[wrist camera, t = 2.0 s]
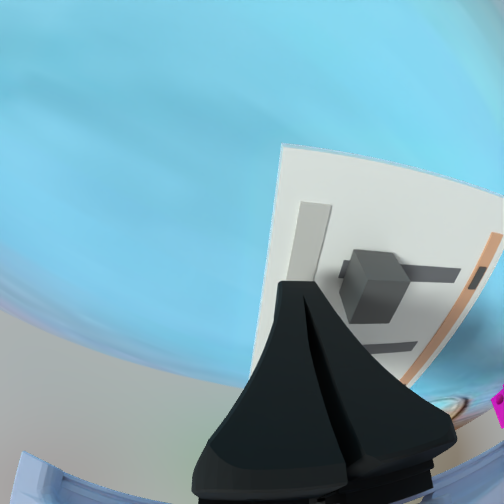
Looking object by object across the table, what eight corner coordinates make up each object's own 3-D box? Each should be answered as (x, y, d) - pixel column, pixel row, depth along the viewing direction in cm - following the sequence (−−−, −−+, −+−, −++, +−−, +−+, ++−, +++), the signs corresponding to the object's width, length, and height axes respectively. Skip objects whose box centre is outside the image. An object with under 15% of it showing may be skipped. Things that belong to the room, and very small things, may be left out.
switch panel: (506, 194, 11) (524, 207, 10) (383, 399, 23) (387, 413, 22) (279, 138, 11) (284, 148, 9) (243, 405, 23) (243, 421, 21)
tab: (393, 252, 12) (410, 281, 10) (376, 293, 13) (389, 323, 11) (353, 249, 11) (367, 279, 10) (338, 292, 13) (348, 323, 11)
